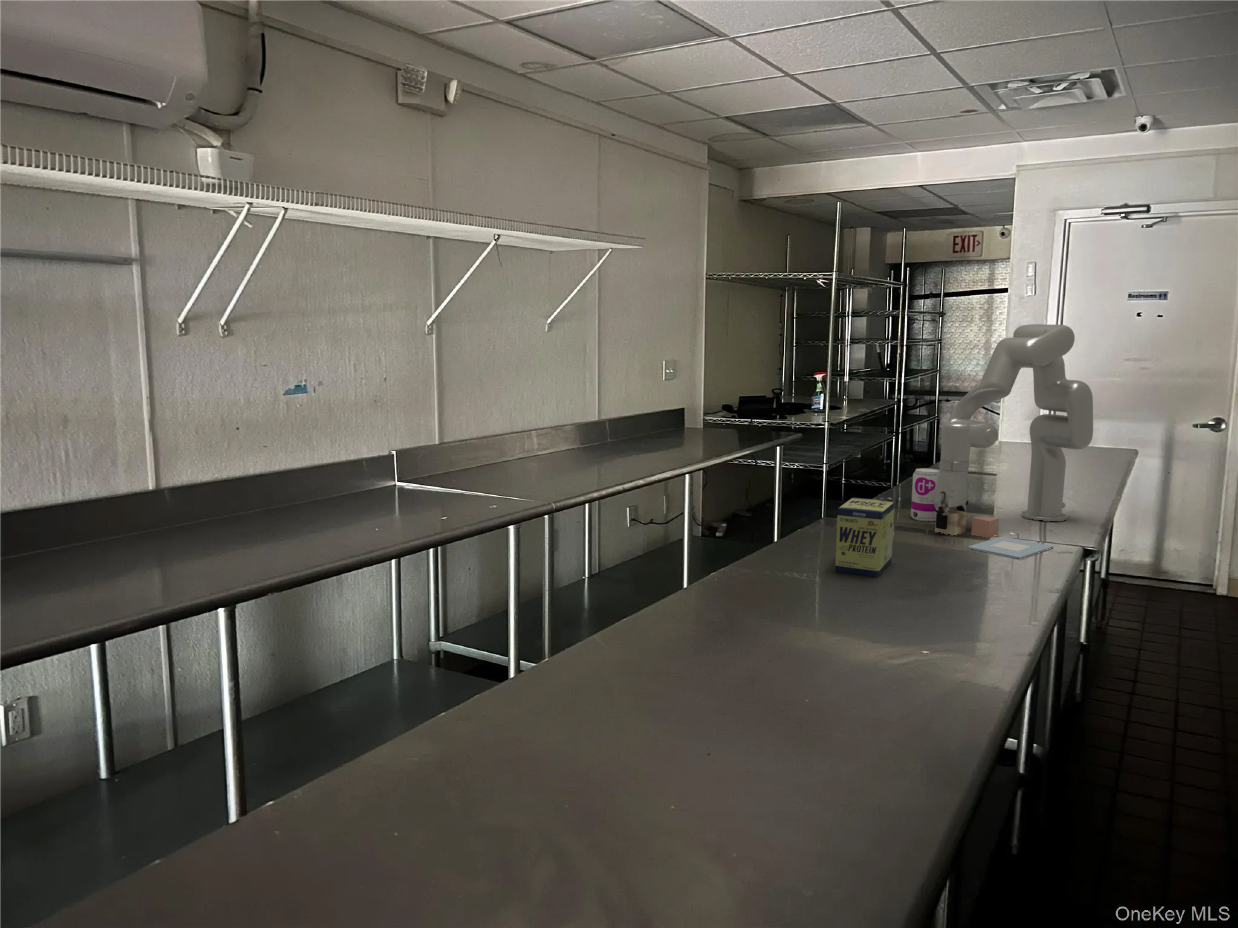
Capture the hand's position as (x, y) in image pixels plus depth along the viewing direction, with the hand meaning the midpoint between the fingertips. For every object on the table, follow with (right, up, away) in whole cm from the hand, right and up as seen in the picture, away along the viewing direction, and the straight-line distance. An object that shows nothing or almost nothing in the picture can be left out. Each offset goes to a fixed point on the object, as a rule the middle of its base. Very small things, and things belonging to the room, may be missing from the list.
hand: (950, 526), depth 251 cm
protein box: (-34, -8, -36) cm, 50 cm away
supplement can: (-1, +1, +17) cm, 17 cm away
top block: (+8, -2, -3) cm, 9 cm away
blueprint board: (+9, -5, -18) cm, 21 cm away
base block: (0, -2, 0) cm, 2 cm away
